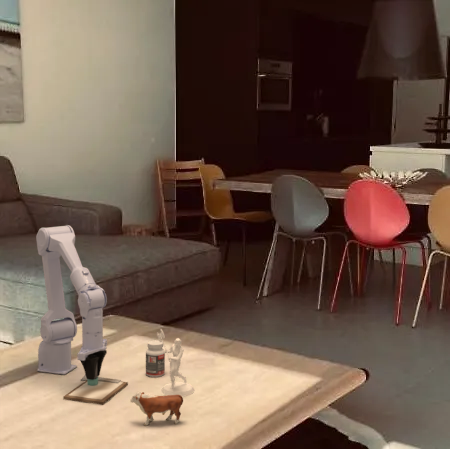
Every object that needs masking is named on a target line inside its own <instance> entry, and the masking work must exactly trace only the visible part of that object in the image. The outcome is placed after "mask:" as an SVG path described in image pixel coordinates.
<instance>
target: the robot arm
mask: <svg viewBox="0 0 450 449" xmlns="http://www.w3.org/2000/svg"><path fill="white" fill-rule="evenodd" d="M35 239H36V246H37V247H36V248H37V253H38V255H39V256H41V259H42V267H43V268H42V269H43V275H44V285H45V292H46V293H45V294H46V300H47V307H48V308H47V311H46V312H45V314H44V315H43V316H42V317H41V318H40V327H39V328H40V329H39V330H40V332H39V333H40V336H41V339H42V341H41V342H40V343H39V345H38V349H37V352H38V353H37V354H38V356H37V357H38V368H37V369H36V371H37V372H42V373H49V374H57V375H66V374H68V373H70V372H71V371H73V370H75V368H77V367H78V365H76V364H72V342H73V341H74V338H75V337H76V336H77V334H78V325H77V322H76V319H75V316H74V315H75V314H74V313H73V312H72V311H70V310H68V309H67V307H66V302H65V293H64V284H63V276H62V269H61V268H62V267H61V262H60V261H61V260H60V258H61V257H62V259H63V261H64V262H65V264H66V265H67V267H68V268H69V270H70V275H69V279H70V281H71V283H72V285H73V286H74V289H75V292H76V293H77V296H78V297H77V298H78V299H77V304H78V308H79V314H80V316H81V323H82V324H81V329H82V330H81V332H82V335H81V337H82V346H81V348H80V350H79V351H78V352H77V361H80V362H81V366H82V367H83V371H84V373H85V374H86V378H87V379H91V380H93V379H94V378H95V371H96V364H97V376H98V377H100V375H99V374H101V369H102V364H103V363H104V360H105V357H106V355H107V348H108V347H107V346H108V339H107V338H104V335H103V334H104V332H103V331H104V328H103V326H104V324H103V323H104V322H103V321H104V320H103V319H104V318H103V315H104V314H103V312H104V311H103V309H104V308H105V307H106V305H107V303H108V301H107V300H108V298H107V294H106V293H105V292H106V291H105V290H104V289H103V288H102V287H100V285H98V284H97V283H96V282H95V279H94V278H93V276H92V274H91V272H90V270H89V268H88V267H84V266H83V265H82V262H81V259H80V257H79V254H78V251H77V248H76V247H75V243H76V235H75V231H74V229H73V227H72V226H71V225H68V224H65V225H61V226H51V227H41V228H39V230H38V232H37V234H36V238H35ZM94 355H95V356H94ZM96 356H97V357H96ZM85 374H84V375H85Z"/></svg>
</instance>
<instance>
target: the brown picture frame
mask: <svg viewBox="0 0 450 449" xmlns="http://www.w3.org/2000/svg"><path fill="white" fill-rule="evenodd" d="M128 385H129V382H128V381H122V380H121V379H116V378H108V377H102V376H98V384H97V385H94V386H90V385H88V384H87V380H86V381H82V383H80V384H79V385H78V386H76V387H74V388H73V389H72V390H70V391H69V392H67V393H66V394H65V395H63V397H62V398H63V400H65V401H72V402H79V403H87V404H95V405H102V406H103V405H105V404H106V403H108V402H109V401H110V400H111V399H113V398H114V397H115V396H116V395H117V394H119V393H120V392H121V391H122V390H123V389H125V388H126V387H127V386H128Z"/></svg>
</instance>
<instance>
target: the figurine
mask: <svg viewBox="0 0 450 449" xmlns="http://www.w3.org/2000/svg"><path fill="white" fill-rule="evenodd" d="M159 331H160V332H159ZM159 331H158V332H156V336H157V340H159V341H160V342H163V348H164V351H165V354H166V355H167V359H168V361H169V369H170V370H169V378H170V381H171V382H168V383H166V384H164V385H163V387H161V393H162V394H164V396H167V395H181V396H182V397H185V396H186V397H187V396H190V395H192V394H193V393H194V392H195V388H194V386H193V385H192V384H191V383H188V381H187V377H186V376H185V375H183V374H182V373H181V372H179V369H180V366H181V359H182V357H183V353H184V350H185V349H184V348H183V347H182V346H183V345H182V339H180V338H179V337H177V338H175V340H173V342H174V343H173V344H172V345H171V346H170V347H169V349H167V347H166V345H165V341H164V340H165V338H166V336H165V333H164V331H163V329H162V328H160V329H159ZM169 354H172V356H170V355H169ZM176 377H178V378H180V379H181V380H182V381H176V380H175V379H176ZM194 394H195V393H194Z"/></svg>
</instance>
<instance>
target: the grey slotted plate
mask: <svg viewBox="0 0 450 449" xmlns="http://www.w3.org/2000/svg"><path fill="white" fill-rule="evenodd" d="M100 374H101V373H100ZM100 374H99V376H100ZM99 376H97V377H99ZM86 380H87V378H86V374H84V375H83V376H82V378H80V382H81V381H82V382H85V381H86Z"/></svg>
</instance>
